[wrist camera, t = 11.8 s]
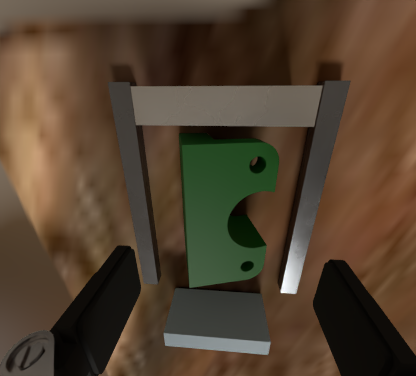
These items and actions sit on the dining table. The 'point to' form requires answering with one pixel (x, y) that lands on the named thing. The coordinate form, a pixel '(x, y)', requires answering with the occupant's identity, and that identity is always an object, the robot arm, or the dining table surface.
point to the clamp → (223, 205)
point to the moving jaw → (217, 321)
